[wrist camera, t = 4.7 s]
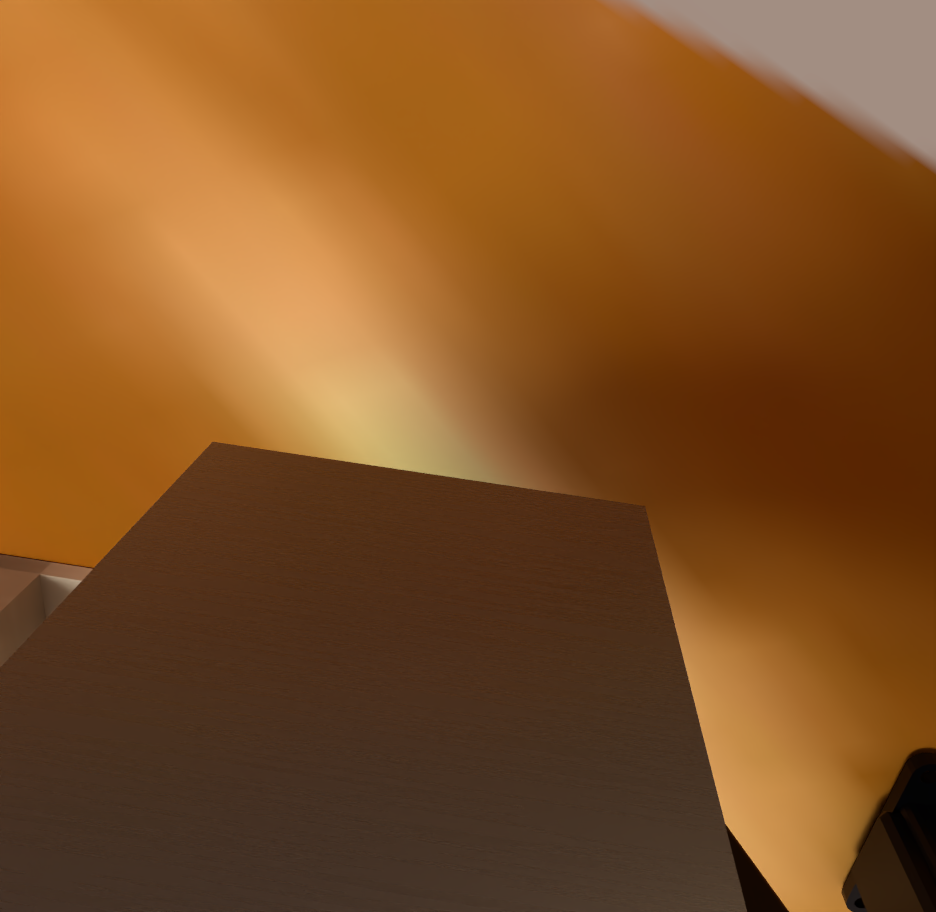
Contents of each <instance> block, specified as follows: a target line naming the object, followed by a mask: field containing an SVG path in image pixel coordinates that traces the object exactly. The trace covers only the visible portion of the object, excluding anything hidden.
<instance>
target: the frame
mask: <svg viewBox="0 0 936 912" xmlns="http://www.w3.org/2000/svg"><path fill="white" fill-rule="evenodd" d="M92 570H93V569H92V568H85V567H79V566H72V565H66V564H59V563H53V562H46V561H40V560H34V559H27V558H21V557H14V556H8V555H1V554H0V667H1V666H2V665H3V664H4V663H5V662H6V661H7V660H8V659H9V658H10V657H11V656H12V655H13V653H14V652H15V651H16V650H17V649H18V648H19V647H20V646H21V645H22V644H23V643H24V642H25V641H26V640H27V639H28V638H29V636H30V635H31V634H32V633H33V632H34V631H35V630H36V629H37V628H38V627H39V626H40V625H41V624H42V623H43V622H44V621H45V620H46V618H47V617H48V616H49V615H50V614H51V613H52V612H53V611H54V610H55V609H56V608H57V607H58V606H59V605H60V604H61V603H62V601H63V600H64V599H65V598H66V597H67V596H68V595H69V594H70V593H71V592H72V591H73V590H74V589H75V588H76V587H77V586H78V584H79V583H80V582H81V581H82V580H83V579H84V578H85V577H86V576H87V575H88V574H89V573H90V572H91V571H92Z"/></svg>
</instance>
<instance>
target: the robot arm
mask: <svg viewBox="0 0 936 912" xmlns="http://www.w3.org/2000/svg"><path fill="white" fill-rule="evenodd" d="M926 771H927V772H926ZM725 826H726V824H725ZM726 830H727V834H728V838H729V842H730V846H731V850H732V854H733V858H734V862H735V866H736V870H737V874H738V878H739V882H740V886H741V889H742V893H743V897H744V901H745V905H746V909H747V912H789V911H788V910H787V908H786V907H785V906H784V904H783V903H782V902H781V900H780V899H779V897H778V896H777V895H776V893H775V892H774V890H773V889H772V888H771V886H770V885H769V884H768V882H767V881H766V879H765V878H764V877H763V875H762V874H761V873H760V871H759V870H758V868H757V867H756V866H755V864H754V863H753V862H752V860H751V859H750V857H749V856H748V855H747V853H746V852H745V851H744V849H743V848H742V846H741V845H740V844H739V842H738V841H737V839H736V838H735V837H734V835H733V834H732V833H731V831H730V830H729V828H728V827H727V826H726ZM842 895H843V898H844V900H845V903H846V905H847V908H848V909H849V910H851V911H852V912H936V754H932V753H921V754H918V755H915V756H913V757H912V758H910V759H909V760H908V761H907V763H906V764H905V766H904V768H903V770H902V772H901V774H900V776H899V778H898V780H897V782H896V784H895V786H894V788H893V790H892V792H891V794H890V796H889V798H888V800H887V802H886V804H885V806H884V808H883V809H882V811H881V813H880V815H879V817H878V818H877V820H876V822H875V824H874V826H873V828H872V830H871V832H870V834H869V836H868V838H867V840H866V842H865V844H864V846H863V848H862V850H861V852H860V854H859V856H858V858H857V860H856V862H855V864H854V865H853V867H852V870H851V872H850V874H849V876H848V878H847V880H846V882H845V884H844V886H843V888H842Z"/></svg>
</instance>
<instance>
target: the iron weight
mask: <svg viewBox="0 0 936 912" xmlns="http://www.w3.org/2000/svg"><path fill="white" fill-rule="evenodd" d="M0 912H747V909H746V905H745V901H744V897H743V893H742V889H741V886H740V882H739V878H738V874H737V870H736V866H735V862H734V858H733V854H732V850H731V846H730V842H729V838H728V834H727V830H726V826H725V822H724V818H723V814H722V810H721V806H720V802H719V798H718V794H717V790H716V787H715V783H714V779H713V775H712V771H711V767H710V763H709V759H708V755H707V751H706V747H705V743H704V739H703V735H702V731H701V727H700V723H699V719H698V715H697V711H696V707H695V703H694V699H693V695H692V691H691V688H690V684H689V680H688V676H687V672H686V668H685V664H684V660H683V656H682V652H681V648H680V644H679V640H678V636H677V632H676V628H675V624H674V620H673V616H672V612H671V608H670V604H669V600H668V596H667V592H666V589H665V585H664V581H663V577H662V573H661V569H660V565H659V561H658V557H657V553H656V549H655V545H654V541H653V537H652V533H651V529H650V525H649V521H648V517H647V513H646V509H645V506H640V505H633V504H626V503H620V502H613V501H606V500H599V499H593V498H586V497H579V496H573V495H566V494H559V493H553V492H546V491H539V490H532V489H526V488H519V487H512V486H506V485H499V484H492V483H485V482H479V481H472V480H465V479H459V478H452V477H445V476H438V475H432V474H425V473H418V472H412V471H405V470H398V469H392V468H385V467H378V466H371V465H365V464H358V463H351V462H345V461H338V460H331V459H324V458H318V457H311V456H304V455H298V454H291V453H284V452H277V451H271V450H264V449H257V448H251V447H244V446H237V445H230V444H224V443H217V442H212V443H211V444H210V445H209V447H208V448H207V449H206V450H205V451H204V452H203V453H202V454H201V455H200V456H199V457H198V458H197V459H196V460H195V461H194V462H193V464H192V465H191V466H190V467H189V468H188V469H187V470H186V471H185V472H184V473H183V474H182V475H181V476H180V477H179V478H178V479H177V480H176V482H175V483H174V484H173V485H172V486H171V487H170V488H169V489H168V490H167V491H166V492H165V493H164V494H163V495H162V496H161V497H160V499H159V500H158V501H157V502H156V503H155V504H154V505H153V506H152V507H151V508H150V509H149V510H148V511H147V512H146V513H145V514H144V516H143V517H142V518H141V519H140V520H139V521H138V522H137V523H136V524H135V525H134V526H133V527H132V528H131V529H130V530H129V531H128V532H127V534H126V535H125V536H124V537H123V538H122V539H121V540H120V541H119V542H118V543H117V544H116V545H115V546H114V547H113V548H112V549H111V551H110V552H109V553H108V554H107V555H106V556H105V557H104V558H103V559H102V560H101V561H100V562H99V563H98V564H97V565H96V566H95V568H94V569H93V570H92V571H91V572H90V573H89V574H88V575H87V576H86V577H85V578H84V579H83V580H82V581H81V582H80V583H79V584H78V586H77V587H76V588H75V589H74V590H73V591H72V592H71V593H70V594H69V595H68V596H67V597H66V598H65V599H64V600H63V601H62V603H61V604H60V605H59V606H58V607H57V608H56V609H55V610H54V611H53V612H52V613H51V614H50V615H49V616H48V617H47V618H46V620H45V621H44V622H43V623H42V624H41V625H40V626H39V627H38V628H37V629H36V630H35V631H34V632H33V633H32V634H31V635H30V636H29V638H28V639H27V640H26V641H25V642H24V643H23V644H22V645H21V646H20V647H19V648H18V649H17V650H16V651H15V652H14V653H13V655H12V656H11V657H10V658H9V659H8V660H7V661H6V662H5V663H4V664H3V665H2V666H1V667H0Z"/></svg>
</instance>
